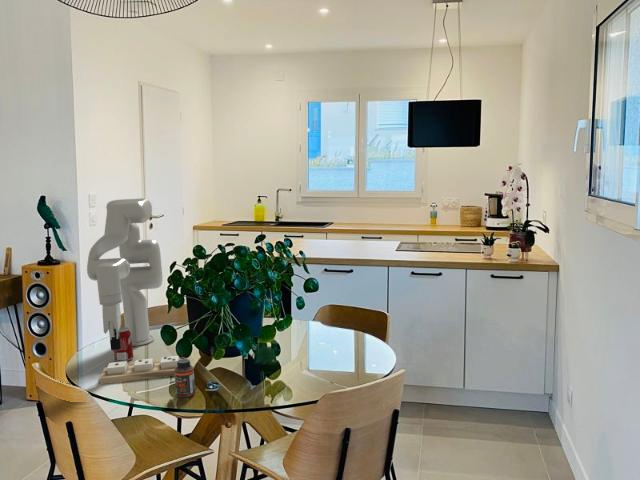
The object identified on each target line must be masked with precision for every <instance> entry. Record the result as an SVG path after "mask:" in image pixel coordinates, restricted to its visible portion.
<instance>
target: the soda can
mask: <svg viewBox="0 0 640 480" xmlns="http://www.w3.org/2000/svg"><path fill="white" fill-rule="evenodd" d="M119 337H120V342H121V348H120V349H119V350H113V354H114V360H115V362H122V361H127V362H129V361H131V360H132V359H133V358H134V349H133V347H134V346H132V336H131V332H130V331H129V328H127V327H125V326H124V327H123V326H122V327H120V329H119Z"/></svg>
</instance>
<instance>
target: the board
mask: <svg viewBox="0 0 640 480" xmlns="http://www.w3.org/2000/svg"><path fill="white" fill-rule="evenodd" d="M180 358H181V357H179V360H180ZM160 362H161V359H160V360H159V359H158V360H153V365H154V368H153V370H145V371H136V372H134V364H135V362H129V363H127V367H128V370H127V373H117V374H108V375H107V367H108V365H105V366H104V368H103V371H102V373H101V375H100V377H99V384H100V385H104V384H112V383H121V382H131V381H139V380H140V381H141V380H146V379H147V380H148V379H157V378H165V376H167V377H173V376H174V377H175V368H176V367H172V368H163V369H161V363H160Z"/></svg>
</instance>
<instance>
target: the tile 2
mask: <svg viewBox="0 0 640 480" xmlns="http://www.w3.org/2000/svg"><path fill="white" fill-rule="evenodd" d="M153 361H154V358H153V357H151V358H143V359H141V358H140V359H136V360H135V361H134V363H135V364H134V372H136V371H145V370H153V368H154V365H153Z"/></svg>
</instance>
